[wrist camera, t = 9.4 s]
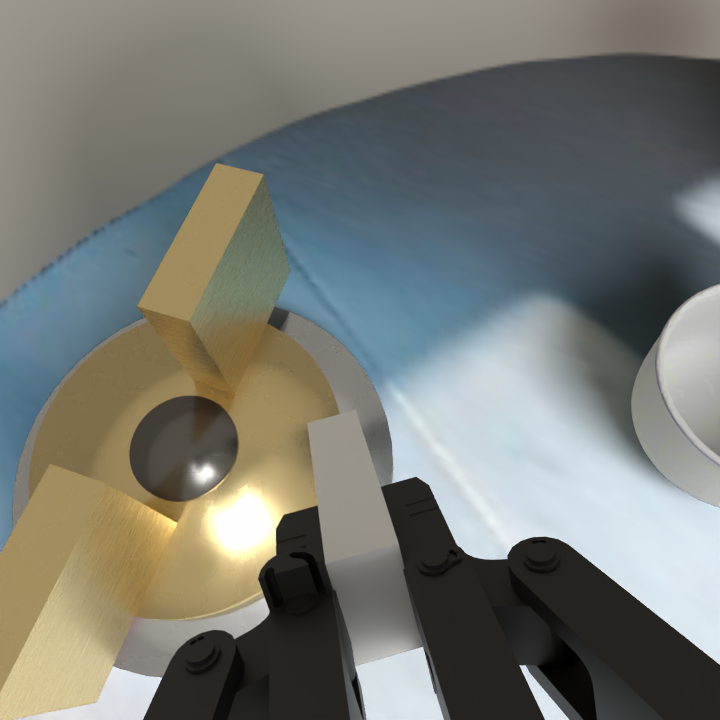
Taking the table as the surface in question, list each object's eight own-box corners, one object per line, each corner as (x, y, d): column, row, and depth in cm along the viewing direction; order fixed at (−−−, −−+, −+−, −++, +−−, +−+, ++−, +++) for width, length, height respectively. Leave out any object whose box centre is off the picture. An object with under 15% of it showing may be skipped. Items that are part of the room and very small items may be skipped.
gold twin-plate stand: (11, 384, 36) (-127, 290, 26) (286, 273, 38) (251, 150, 29) (83, 715, 28) (-73, 752, 19) (420, 552, 31) (432, 512, 21)
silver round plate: (181, 262, 41) (173, 247, 40) (458, 409, 36) (461, 399, 34) (-51, 535, 34) (-71, 530, 33) (251, 770, 29) (243, 778, 27)
